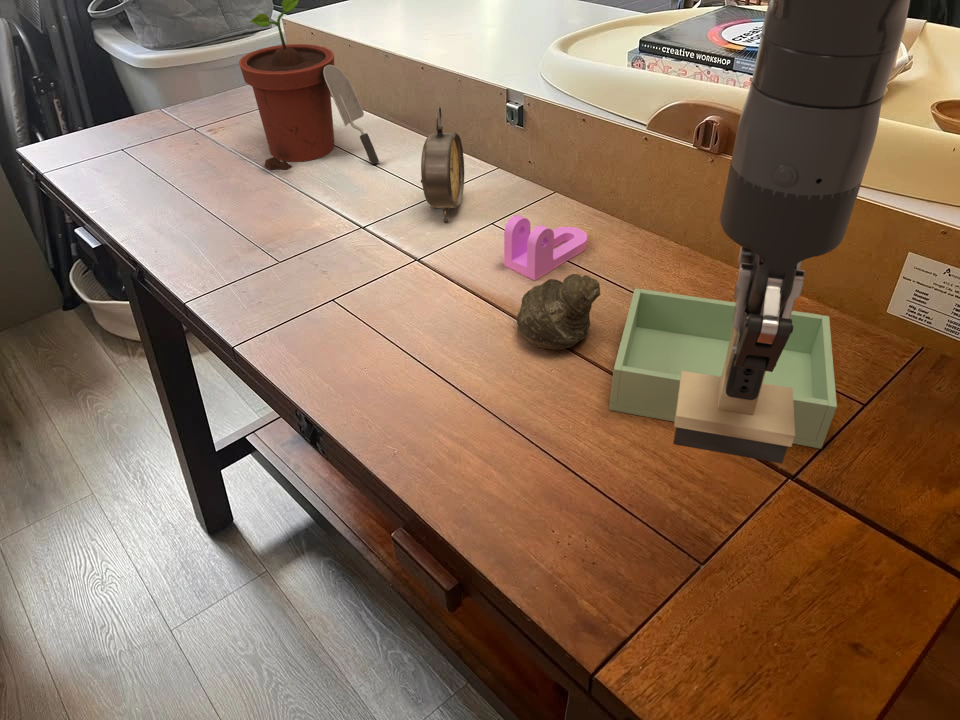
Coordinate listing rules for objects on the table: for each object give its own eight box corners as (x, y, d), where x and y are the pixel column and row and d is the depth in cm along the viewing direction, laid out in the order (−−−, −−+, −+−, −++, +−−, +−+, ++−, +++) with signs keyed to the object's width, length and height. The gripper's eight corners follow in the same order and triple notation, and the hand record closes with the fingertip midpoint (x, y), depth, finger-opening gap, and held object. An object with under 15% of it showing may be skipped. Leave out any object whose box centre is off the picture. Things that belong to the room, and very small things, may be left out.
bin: (816, 356, 88) (829, 315, 85) (821, 449, 77) (837, 407, 73) (629, 327, 94) (634, 287, 90) (608, 410, 82) (613, 368, 78)
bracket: (534, 280, 102) (535, 234, 98) (504, 265, 105) (504, 220, 101) (594, 244, 109) (598, 200, 105) (564, 231, 112) (567, 187, 108)
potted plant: (337, 123, 147) (316, -18, 131) (380, 164, 132) (363, 10, 116) (246, 142, 140) (213, -4, 125) (281, 188, 125) (249, 29, 110)
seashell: (570, 339, 82) (633, 302, 87) (509, 252, 84) (573, 221, 89) (531, 377, 92) (589, 342, 96) (477, 299, 94) (536, 269, 98)
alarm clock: (454, 227, 114) (449, 122, 104) (419, 225, 115) (411, 120, 104) (467, 194, 122) (463, 93, 112) (434, 192, 123) (427, 92, 113)
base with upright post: (783, 418, 61) (816, 313, 54) (785, 466, 57) (820, 359, 50) (676, 400, 62) (695, 297, 56) (670, 445, 58) (690, 340, 52)
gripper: (878, 224, 39) (797, 457, 50) (853, 123, 50) (791, 334, 61) (728, 208, 41) (681, 436, 52) (735, 113, 52) (695, 320, 62)
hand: (741, 380), depth 56 cm, fingers closed on base with upright post, 2 cm apart
